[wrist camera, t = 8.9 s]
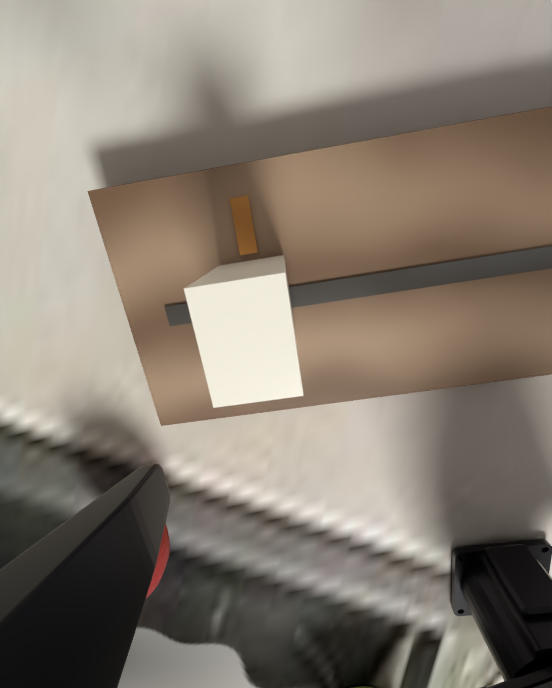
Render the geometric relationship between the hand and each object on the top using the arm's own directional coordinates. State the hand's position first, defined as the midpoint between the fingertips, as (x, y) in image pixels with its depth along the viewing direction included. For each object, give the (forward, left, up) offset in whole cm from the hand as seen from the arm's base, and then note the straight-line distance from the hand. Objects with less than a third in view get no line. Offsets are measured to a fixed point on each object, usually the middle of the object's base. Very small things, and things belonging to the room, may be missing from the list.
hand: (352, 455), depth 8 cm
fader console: (+2, -3, -12) cm, 12 cm away
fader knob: (+2, +2, -9) cm, 10 cm away
